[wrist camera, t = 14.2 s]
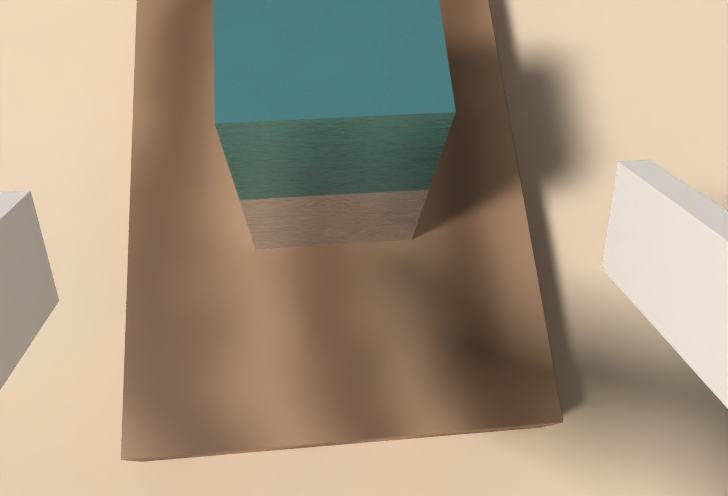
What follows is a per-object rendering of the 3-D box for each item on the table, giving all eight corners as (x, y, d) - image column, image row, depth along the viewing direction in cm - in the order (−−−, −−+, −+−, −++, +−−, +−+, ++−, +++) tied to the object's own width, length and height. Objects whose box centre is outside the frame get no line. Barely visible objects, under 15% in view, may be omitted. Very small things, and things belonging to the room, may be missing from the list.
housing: (396, 104, 32) (428, -75, 22) (411, 239, 30) (455, 111, 19) (251, 111, 31) (212, -69, 21) (255, 249, 29) (214, 123, 19)
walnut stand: (469, -1, 38) (481, -40, 35) (541, 427, 30) (563, 422, 27) (152, 10, 37) (137, -29, 34) (141, 461, 29) (120, 459, 26)
